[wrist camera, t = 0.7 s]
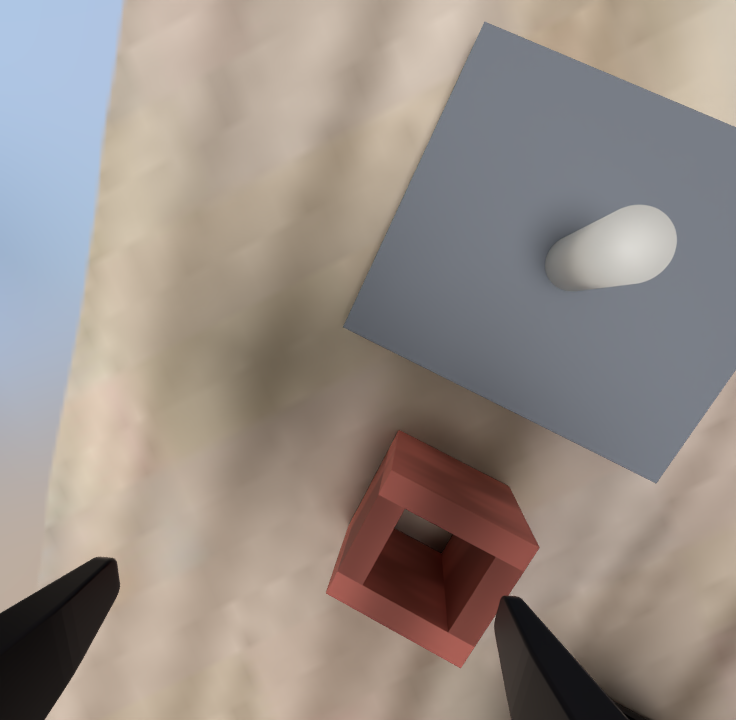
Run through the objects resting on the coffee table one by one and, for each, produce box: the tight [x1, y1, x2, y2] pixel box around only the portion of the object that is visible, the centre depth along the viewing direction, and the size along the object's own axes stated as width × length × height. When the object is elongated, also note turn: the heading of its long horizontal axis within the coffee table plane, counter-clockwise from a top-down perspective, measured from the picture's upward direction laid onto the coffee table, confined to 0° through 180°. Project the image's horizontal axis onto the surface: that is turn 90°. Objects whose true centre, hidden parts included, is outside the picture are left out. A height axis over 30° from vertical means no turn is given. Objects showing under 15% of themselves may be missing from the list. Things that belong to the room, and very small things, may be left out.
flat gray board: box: [343, 22, 736, 483], centre depth 14 cm, size 16×14×6 cm
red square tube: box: [326, 430, 539, 668], centre depth 17 cm, size 6×6×5 cm
